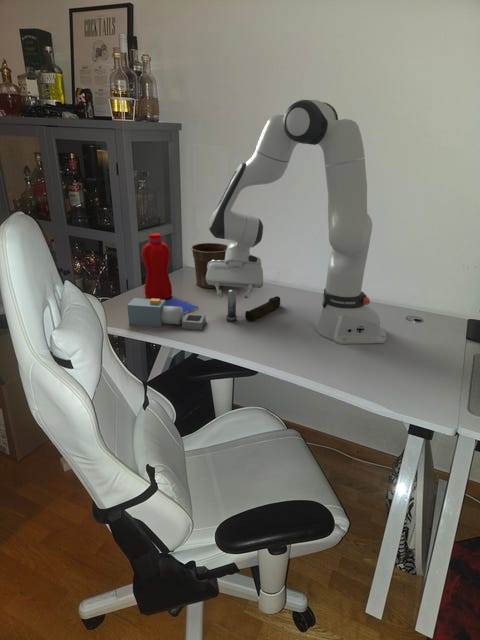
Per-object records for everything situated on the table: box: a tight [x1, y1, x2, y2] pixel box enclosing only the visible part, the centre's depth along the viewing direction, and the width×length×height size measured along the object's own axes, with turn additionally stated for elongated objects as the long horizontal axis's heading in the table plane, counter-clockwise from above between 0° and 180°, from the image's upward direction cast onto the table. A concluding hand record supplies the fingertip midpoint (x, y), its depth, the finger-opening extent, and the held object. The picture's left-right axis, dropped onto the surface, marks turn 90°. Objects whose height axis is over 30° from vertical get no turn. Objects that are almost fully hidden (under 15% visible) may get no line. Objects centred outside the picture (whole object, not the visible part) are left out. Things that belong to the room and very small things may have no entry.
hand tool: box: [244, 295, 281, 323], centre depth 147 cm, size 19×4×5 cm, turn 138°
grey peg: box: [226, 288, 238, 323], centre depth 140 cm, size 4×4×11 cm
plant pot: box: [190, 242, 227, 289], centre depth 173 cm, size 16×16×16 cm
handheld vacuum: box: [126, 297, 207, 331], centre depth 137 cm, size 25×7×8 cm, turn 83°
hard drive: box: [165, 297, 199, 316], centre depth 151 cm, size 2×8×12 cm
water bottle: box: [141, 232, 173, 301], centre depth 156 cm, size 9×11×25 cm
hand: (232, 296), depth 141 cm, fingers open, 8 cm apart
